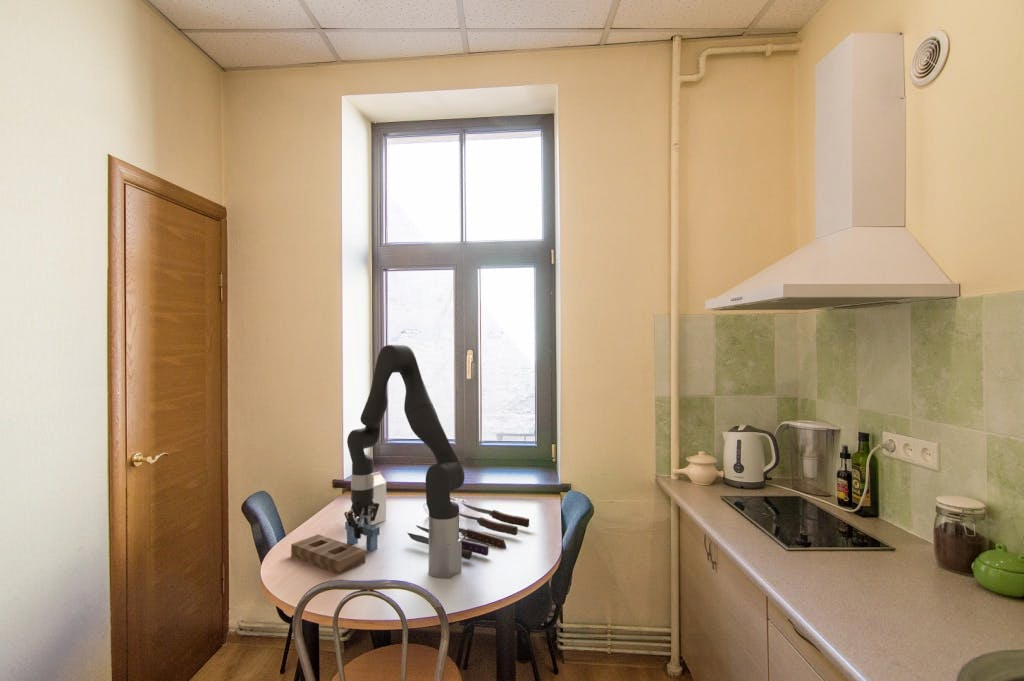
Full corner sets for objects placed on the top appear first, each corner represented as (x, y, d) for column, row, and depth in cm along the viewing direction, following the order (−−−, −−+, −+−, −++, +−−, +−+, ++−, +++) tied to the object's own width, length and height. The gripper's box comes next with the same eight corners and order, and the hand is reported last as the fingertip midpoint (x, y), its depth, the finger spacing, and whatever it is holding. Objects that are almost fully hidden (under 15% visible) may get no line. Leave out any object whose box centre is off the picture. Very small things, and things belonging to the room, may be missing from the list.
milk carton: (386, 520, 192) (386, 472, 192) (371, 525, 186) (372, 476, 186) (374, 517, 196) (374, 470, 196) (359, 522, 190) (360, 473, 190)
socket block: (365, 562, 153) (365, 549, 153) (338, 574, 145) (338, 561, 145) (317, 546, 166) (318, 534, 166) (291, 556, 158) (291, 544, 158)
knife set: (460, 512, 198) (461, 494, 197) (531, 532, 181) (531, 512, 180) (399, 544, 168) (400, 522, 167) (477, 571, 151) (477, 546, 150)
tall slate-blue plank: (379, 549, 164) (379, 527, 164) (372, 552, 161) (372, 529, 161) (352, 540, 171) (352, 519, 171) (345, 543, 169) (345, 521, 169)
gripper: (353, 493, 159) (352, 545, 158) (385, 483, 170) (385, 532, 170) (338, 489, 163) (337, 541, 162) (371, 480, 174) (370, 528, 174)
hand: (362, 536), depth 166 cm, fingers closed on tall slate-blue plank, 3 cm apart
